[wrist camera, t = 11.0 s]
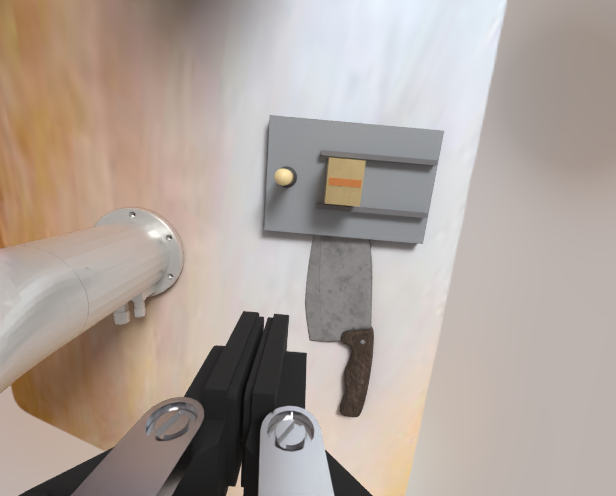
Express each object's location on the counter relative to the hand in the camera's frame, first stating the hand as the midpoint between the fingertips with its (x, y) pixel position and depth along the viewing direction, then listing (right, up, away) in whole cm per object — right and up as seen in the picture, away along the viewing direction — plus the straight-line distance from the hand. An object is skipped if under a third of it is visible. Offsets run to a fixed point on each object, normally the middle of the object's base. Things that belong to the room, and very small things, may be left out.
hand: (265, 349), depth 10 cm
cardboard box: (+6, +12, +25) cm, 28 cm away
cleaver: (+7, -8, +33) cm, 34 cm away
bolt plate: (+7, +12, +27) cm, 30 cm away
